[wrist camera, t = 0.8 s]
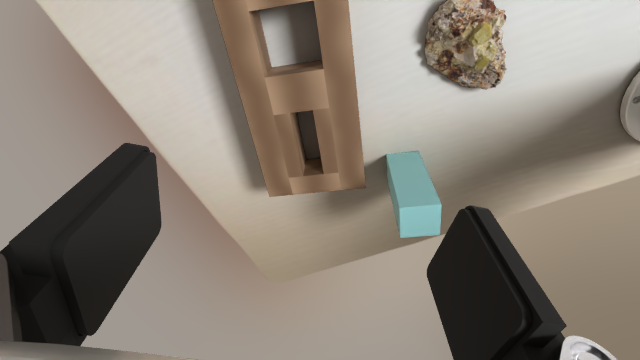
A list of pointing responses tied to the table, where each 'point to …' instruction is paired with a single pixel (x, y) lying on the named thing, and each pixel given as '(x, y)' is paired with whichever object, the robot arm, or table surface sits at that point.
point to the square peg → (413, 195)
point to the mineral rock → (467, 42)
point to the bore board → (297, 99)
